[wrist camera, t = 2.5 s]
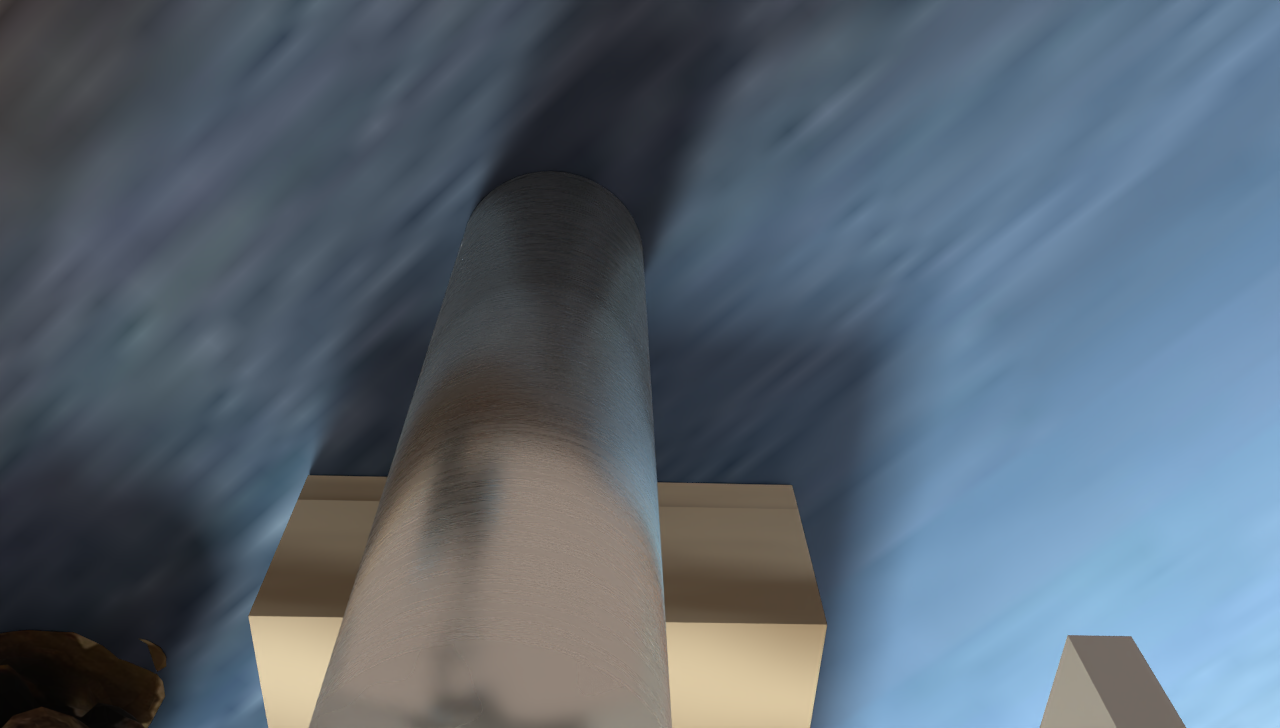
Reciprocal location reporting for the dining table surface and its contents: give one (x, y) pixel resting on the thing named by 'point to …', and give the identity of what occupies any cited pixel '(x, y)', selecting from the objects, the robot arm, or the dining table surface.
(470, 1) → the dining table surface
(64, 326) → the dining table surface
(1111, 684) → the robot arm
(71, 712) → the pine cone
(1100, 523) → the dining table surface
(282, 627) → the hole block
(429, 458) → the steel pin
